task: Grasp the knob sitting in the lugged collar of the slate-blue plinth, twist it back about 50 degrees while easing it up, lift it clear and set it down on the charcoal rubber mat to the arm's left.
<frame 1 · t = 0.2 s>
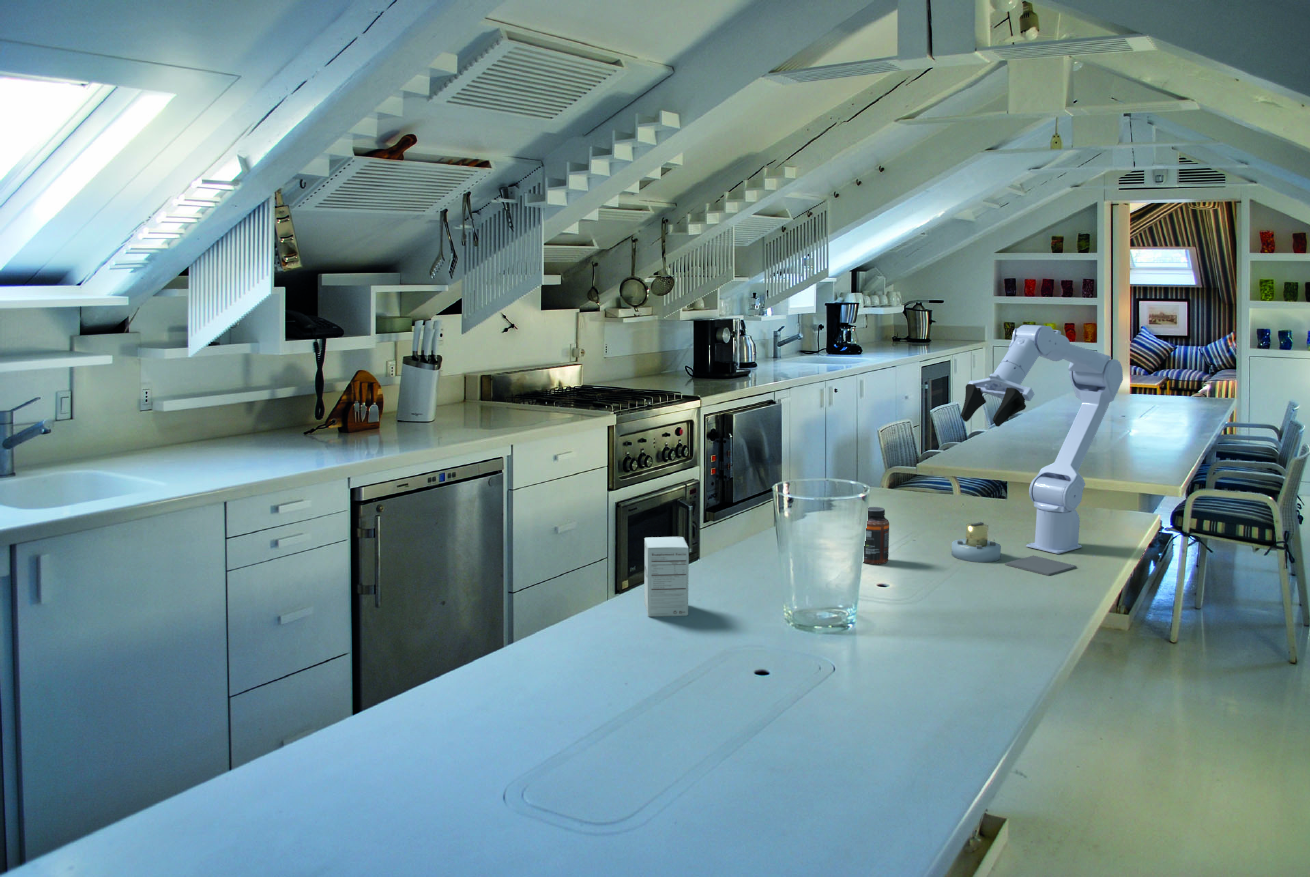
hand: (979, 420, 212), 30 cm above the kitchen island, tool tilted 45°, fingers open, 7 cm apart
supplement box: (665, 611, 189), on the kitchen island
mat: (1040, 566, 218), on the kitchen island
knob: (976, 544, 226), point 2 cm above the kitchen island, touching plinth
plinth: (975, 555, 226), on the kitchen island
supplement bottle: (873, 562, 222), on the kitchen island
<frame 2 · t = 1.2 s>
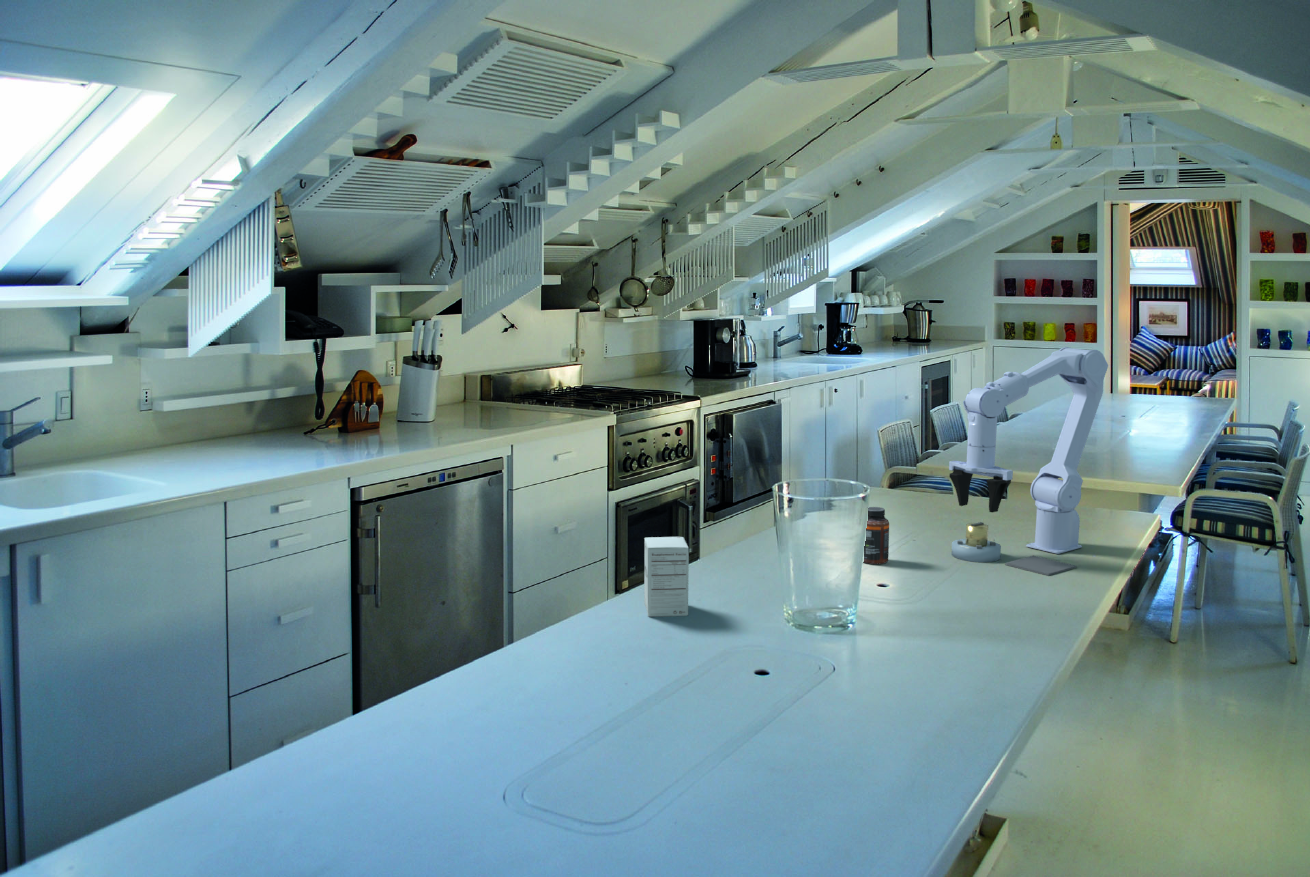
hand: (978, 508, 225), 10 cm above the kitchen island, tool pointing down, fingers open, 7 cm apart
nothing on the kitchen island moved.
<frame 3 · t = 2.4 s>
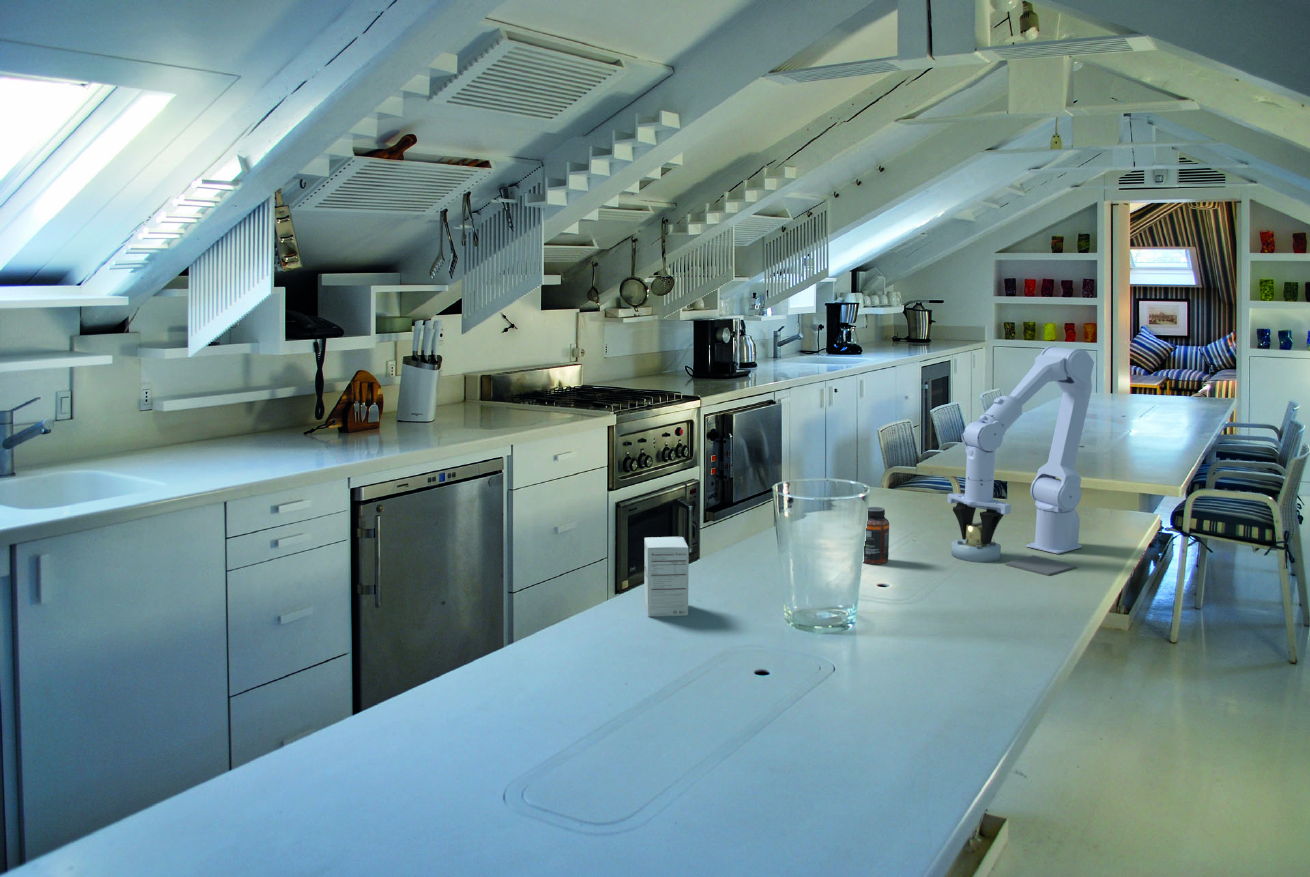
hand: (976, 541, 226), 3 cm above the kitchen island, tool pointing down, fingers closed on knob, 4 cm apart
knob: (976, 544, 226), point 2 cm above the kitchen island, touching gripper, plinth
everything else where it was.
when the fingers open (3 cm above the kitchen island, at t = 6.9 s): knob drops 1 cm, resting on mat.
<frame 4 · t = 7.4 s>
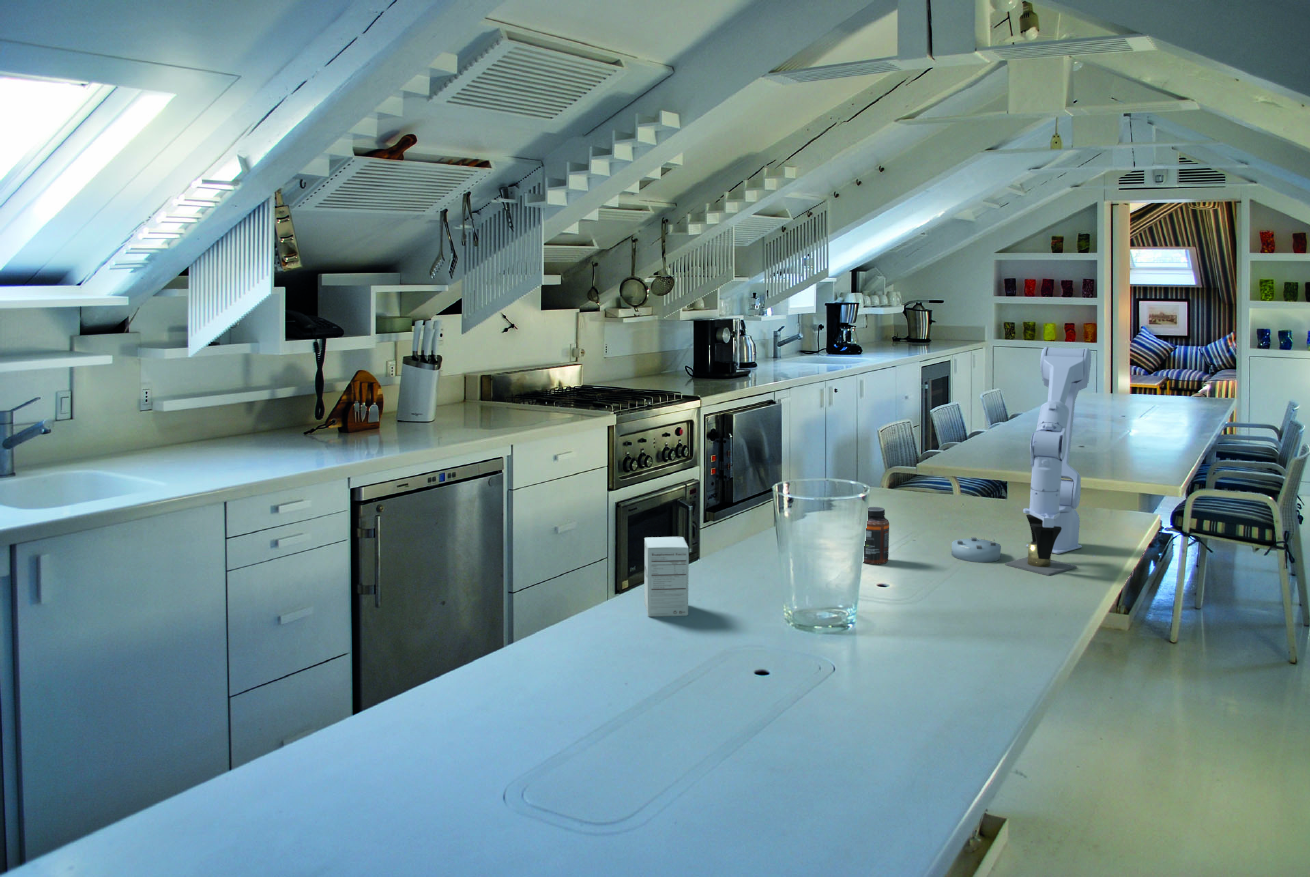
hand: (1041, 553, 218), 3 cm above the kitchen island, tool pointing down, fingers open, 7 cm apart
knob: (1038, 564, 219), resting on mat
everything else where it was.
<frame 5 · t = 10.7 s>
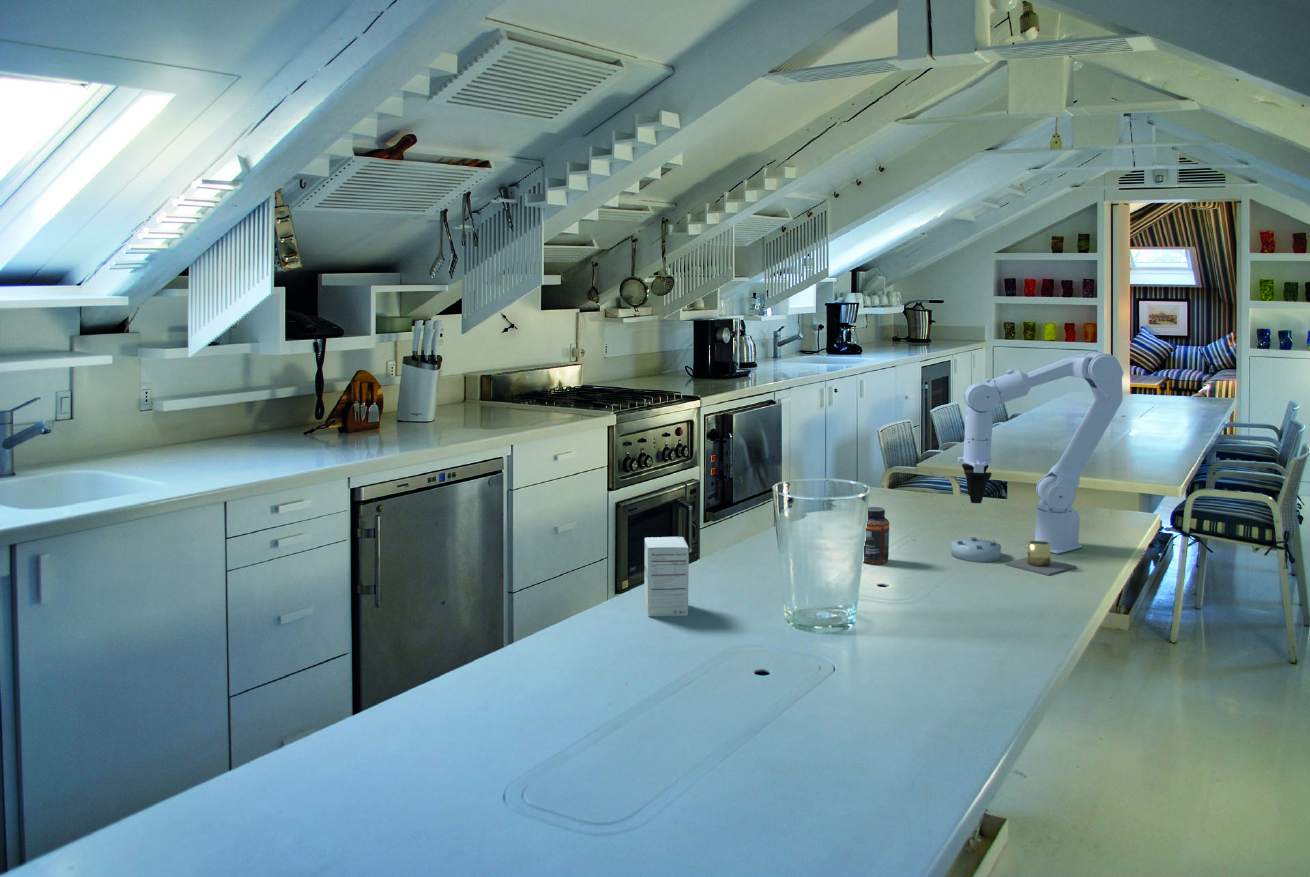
hand: (974, 499, 234), 10 cm above the kitchen island, tool pointing down, fingers open, 7 cm apart
nothing on the kitchen island moved.
at the end: knob 0.4 cm from the mat (horizontally); knob point 0.6 cm above the kitchen island; knob tilted 4° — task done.
